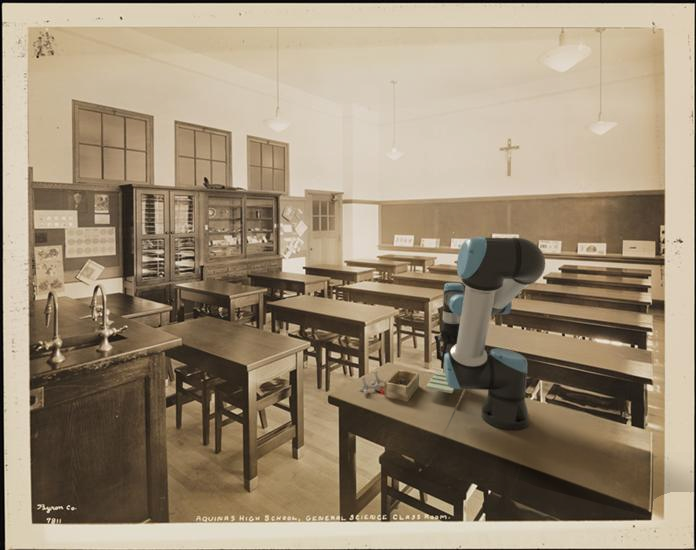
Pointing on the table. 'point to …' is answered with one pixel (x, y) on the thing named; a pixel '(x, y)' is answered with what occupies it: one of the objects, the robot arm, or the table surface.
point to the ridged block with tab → (439, 383)
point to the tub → (400, 391)
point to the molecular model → (376, 386)
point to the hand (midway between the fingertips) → (449, 377)
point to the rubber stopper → (403, 381)
